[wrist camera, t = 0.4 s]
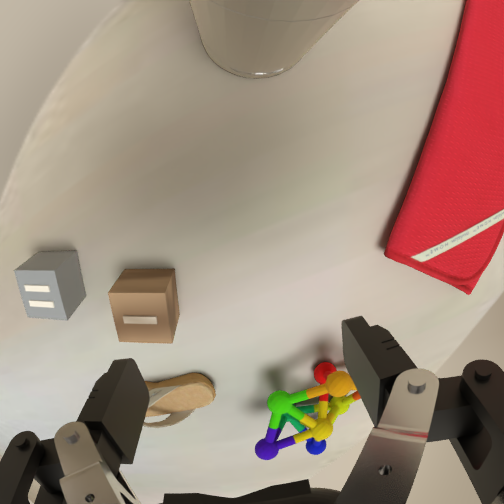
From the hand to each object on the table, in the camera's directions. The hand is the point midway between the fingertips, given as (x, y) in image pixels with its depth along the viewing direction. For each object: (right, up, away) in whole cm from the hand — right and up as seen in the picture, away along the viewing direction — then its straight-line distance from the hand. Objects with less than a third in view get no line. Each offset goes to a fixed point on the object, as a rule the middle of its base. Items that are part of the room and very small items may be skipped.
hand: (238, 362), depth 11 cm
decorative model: (+8, -13, +25) cm, 29 cm away
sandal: (-11, -13, +24) cm, 29 cm away
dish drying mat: (+27, +20, +14) cm, 37 cm away
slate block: (-19, +2, +18) cm, 26 cm away
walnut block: (-9, 0, +19) cm, 21 cm away
